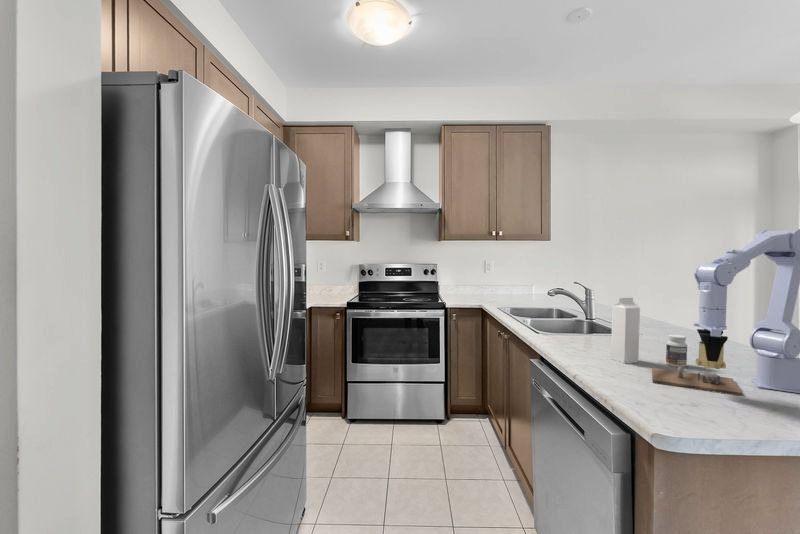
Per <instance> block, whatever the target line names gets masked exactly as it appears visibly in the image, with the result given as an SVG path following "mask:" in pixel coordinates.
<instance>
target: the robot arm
mask: <svg viewBox="0 0 800 534" xmlns="http://www.w3.org/2000/svg"><path fill="white" fill-rule="evenodd" d="M761 255H764V256H765V257H766V258H767V259H768V260H770V261H772V262H774V263H775V264H776V265H777V267H776V270H775V271H776V272H775V276H774V281H773V284H772V289H771V295H770V299H769V304H768V308H767V313H766V317H765V319H763V320H761V321H759V322H757V323H755V325H754V329H753V330H752V332H751V333H750V335H749V339H748V340H749V344H750V347H751V348H752V349H753V350H754V353H755V354H756V374H755V378H751V381H752V382H753V383H754V385H755V386H756V387H757V388H760V389H767V390H774V391H782V392H790V393H797V394H800V357H798V356H799V355H800V329H798V328H797V326H795V325H794V324H793V323H792V321H793V317H794V312H795V307H796V303H797V298H798V294H799V288H800V228H797V229H782V230H781V229H780V230H777V229H776V230H767V229H765V230H762V231H760V232H758V233H755V236H754V238H753V240H752V241H750V242H749V243H747V244H746V245H745V246H743V247H742V248H741V249H738V248H737V249H734V248H733V249H730V248H729V249H728V250H726V253H724V254H722V255H721V256H719V257H715V258H714V259H713V261H711V262H710V263H709V262H704V263H702V264H700V265H699V266H698V267H697V268H696V270H695V273H694V279H695V281H696V283H697V289H698V290H699V301H698V302H699V304H698V305H699V306H698V307H699V308H698V322H693V324H692V326H693V327H698V328H697V329H696V331H697V333H698V335H699V337H700V342H701V341H703V342H704V345H705V351H706V357H707V360H708V361H714V362H717V361H718V359H719V356H720V353H721V349H722V347H723V345H724V346H725V343H726V342H727V341H728V339H729V337H728V336H726V335H723V334H724V331H725V330H727V300H728V299H727V298H728V285H731V284H732V283H733V281H734V278H735V277H736V276H737V275H738V274H739V273H741V272H742V271H744V270H745V269H747V268H749V266H750V265H751V263H752V262H751V261H752V260H753V259H756V258H757V257H759V256H761Z"/></svg>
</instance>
